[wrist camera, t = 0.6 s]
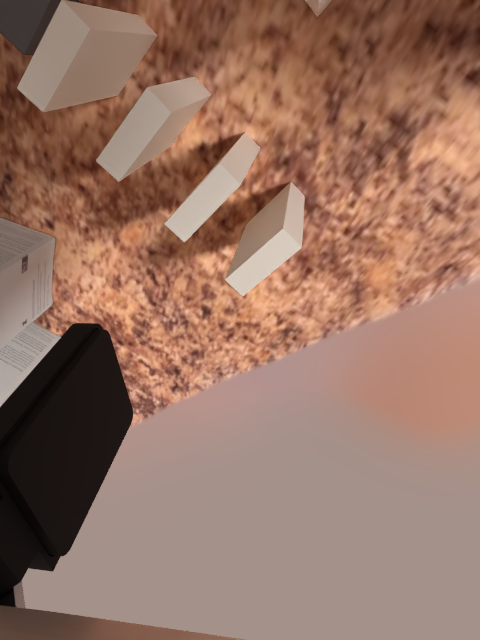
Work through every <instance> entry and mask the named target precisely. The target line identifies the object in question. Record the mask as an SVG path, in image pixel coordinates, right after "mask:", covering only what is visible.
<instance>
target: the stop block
mask: <svg viewBox="0 0 480 640" xmlns="http://www.w3.org/2000/svg"><path fill="white" fill-rule="evenodd" d="M67 1H72V2H76V1H77V0H67ZM60 2H61V0H0V33H1V34H3V35H4V36H5V37H6V38H7V39H8V40H9V41H10V42H11V43H12V44H13V45H14V46H15V47H16V48H17V49H18V50H19V51H20V52H21V53H22V54H23V55H34V53H35V51H36V49H37V47H38V45H39V43H40V41H41V39H42V37H43V36H44V34H45V32H46V30H47V28H48V26H49V24H50V22H51V20H52V18H53V16H54V14H55V12H56V10H57V8H58V6H59V4H60Z"/></svg>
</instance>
